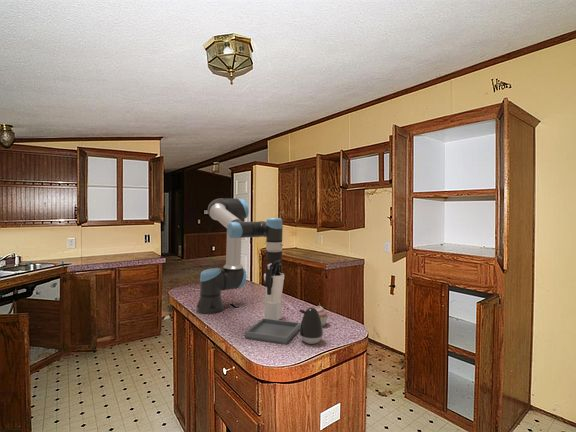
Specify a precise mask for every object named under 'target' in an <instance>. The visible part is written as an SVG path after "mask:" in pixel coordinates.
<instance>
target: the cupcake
mask: <svg viewBox="0 0 576 432" xmlns="http://www.w3.org/2000/svg"><path fill="white" fill-rule="evenodd" d="M314 308H315V309H316V310H317V311H318V313H319V316H320V318H321V322H322V327H325V326H326V323H327V319H328V318H329V315H328V314H327V311H326V310H325V309H324V307H322V306H321V305H317V306H316V307H314Z"/></svg>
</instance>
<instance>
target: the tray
mask: <svg viewBox="0 0 576 432" xmlns="http://www.w3.org/2000/svg"><path fill="white" fill-rule="evenodd" d="M300 326H301V322H295V321H288V320H287V321H286V320H281V319H279V320H273V319H265V317H264V318H261V319H260V320H258V321H257V322H256V323H255V324H254V325H252V326H251V327H249V329H248V328H247V330H246V331H244V339H247V340H252V341H253V340H254V341H259V342H265V343H273V344H278V345H284V346H285V345H286V346H288V344H289V343H290V342H291V340H293V338H294V337H295V336H296V335H297V334H298V332H300Z"/></svg>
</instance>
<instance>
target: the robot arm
mask: <svg viewBox="0 0 576 432" xmlns="http://www.w3.org/2000/svg"><path fill="white" fill-rule="evenodd" d="M249 212H250V210H249V206H248V202H247V201H246V200H245V199H242V198H228V197H227V198H225V197H224V198H222V197H221V198H216V199H213V200H212V201H211V202H210V203H209V204H208V207H207V214H208V215H209V217H210V218H211V219H212V220H214V221H217V222H219V224H221V225H222V226H223V227H224V228H226V253H225V254H226V256H225V258H226V259H225V264H224V265H223V270H222V269H221V268H219V267H216V268H214V267H212V268H208V269H204V270H202V271H201V272H200V276H199V287H200V288H199V290H200V291H199V299H198V302H197V305H196V306H197V307H196V311H197V313H199V314H204V315H205V314H206V315H207V314H208V315H210V314H217V313H220V312H223V311H224V308H225V306H224V302H223V299H222V295H221V294H222V291H229V290H237V289H241V288H243V287H244V286H245V284H246V282H247V271H246V269H245V268H244V266H243V265H242V264H241V263H242V262H241V259H242V239H244V238H246V239H247V238H266V240H265V250H266V253H265V255H266V256H265V259H266V260H268V261H269V262H268V264H266V266H265V268H266V269H265V273H266V277H265V280H264V288H265V287H267V301H269V302H273V287H272V284H273V277H272V276H274V274H275V276H279V275H280V273H283V267H282V260H283V251H282V250H283V246H284V244H283V232H284V231H283V229H284V226H283V225H284V224H283V219H282V218H281V217H267V219H266V221H263V220H259V221H245V219H247V218H248V217H249ZM271 277H272V278H271Z"/></svg>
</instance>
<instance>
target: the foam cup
mask: <svg viewBox="0 0 576 432" xmlns="http://www.w3.org/2000/svg"><path fill="white" fill-rule="evenodd" d="M265 277H266V272H265V273H263V279H264V281H265ZM272 277H273V284H272V287H273V302H269V301H267V302H268V303H271V304H277V303H280V302H281V297H282V298H283V288H284V280H285V274H284V273H283V272H282V273H280V275H279V276H275V274H274V276H272ZM272 277H271V278H272ZM264 288H265V291H266V296H267V287H265V286H264Z"/></svg>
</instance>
